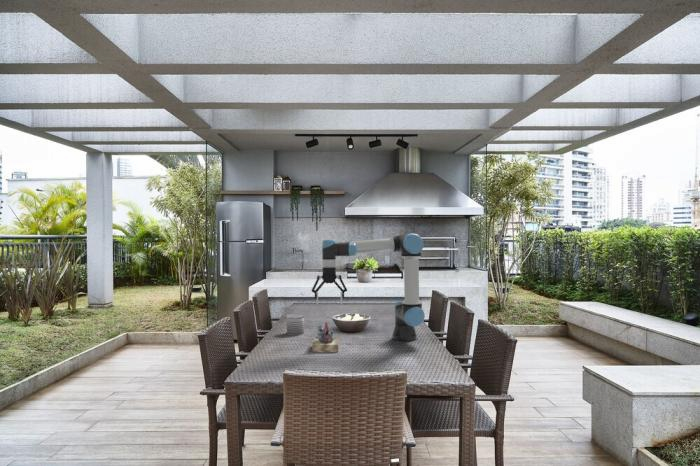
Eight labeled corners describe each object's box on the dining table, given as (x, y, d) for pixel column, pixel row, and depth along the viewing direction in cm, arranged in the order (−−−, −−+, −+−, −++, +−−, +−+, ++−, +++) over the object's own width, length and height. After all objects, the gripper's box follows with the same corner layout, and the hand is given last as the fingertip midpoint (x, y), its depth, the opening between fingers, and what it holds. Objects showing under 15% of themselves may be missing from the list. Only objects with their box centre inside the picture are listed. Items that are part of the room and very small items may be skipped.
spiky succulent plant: (336, 339, 262) (323, 321, 263) (320, 351, 263) (307, 333, 265) (339, 335, 273) (327, 318, 275) (324, 346, 275) (312, 329, 276)
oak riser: (337, 345, 276) (337, 338, 276) (338, 352, 261) (338, 344, 261) (313, 346, 275) (313, 339, 275) (312, 352, 260) (312, 344, 260)
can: (307, 334, 308) (307, 315, 308) (291, 336, 302) (291, 317, 302) (299, 331, 318) (299, 313, 318) (283, 333, 311) (283, 314, 311)
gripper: (350, 266, 277) (350, 302, 277) (307, 266, 275) (307, 303, 275) (351, 266, 270) (351, 304, 270) (307, 267, 268) (307, 305, 268)
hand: (329, 304), depth 272 cm, fingers open, 13 cm apart
